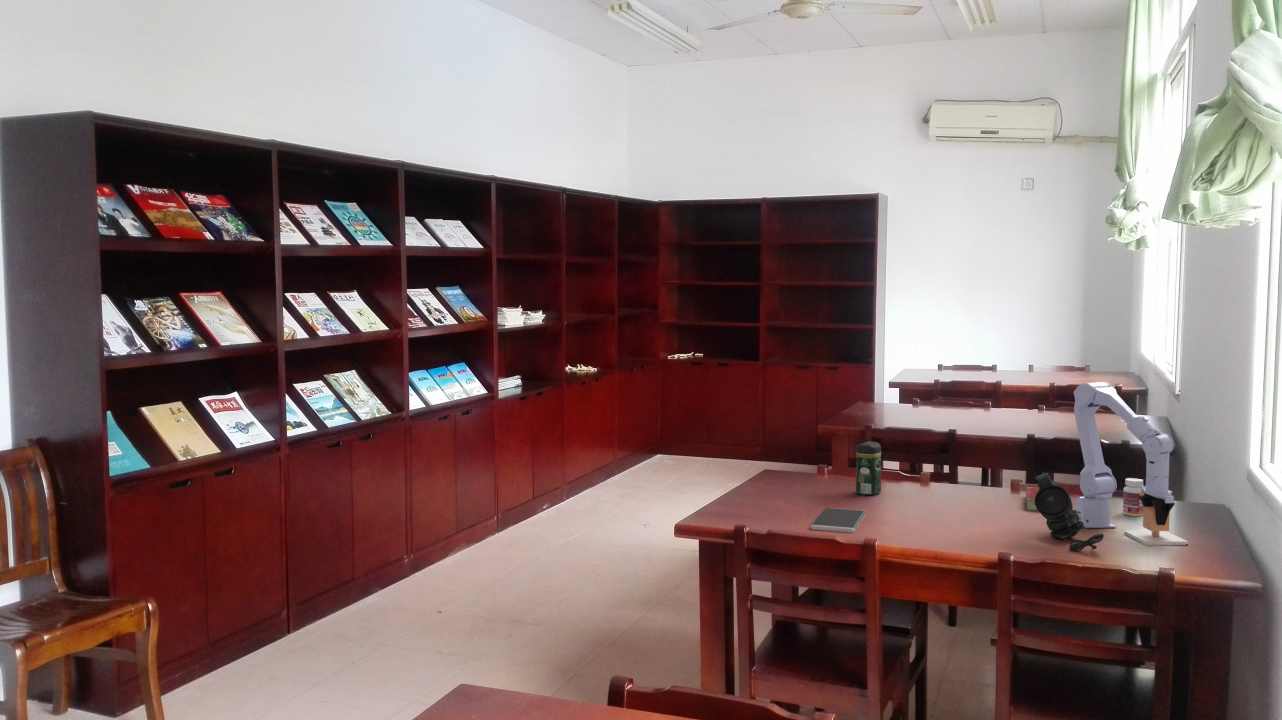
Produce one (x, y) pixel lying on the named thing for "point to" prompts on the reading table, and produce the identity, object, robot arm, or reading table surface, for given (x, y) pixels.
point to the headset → (1061, 513)
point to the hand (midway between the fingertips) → (1155, 522)
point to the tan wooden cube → (1153, 520)
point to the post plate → (1155, 538)
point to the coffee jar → (868, 468)
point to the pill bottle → (1132, 497)
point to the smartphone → (839, 520)
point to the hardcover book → (1031, 498)
